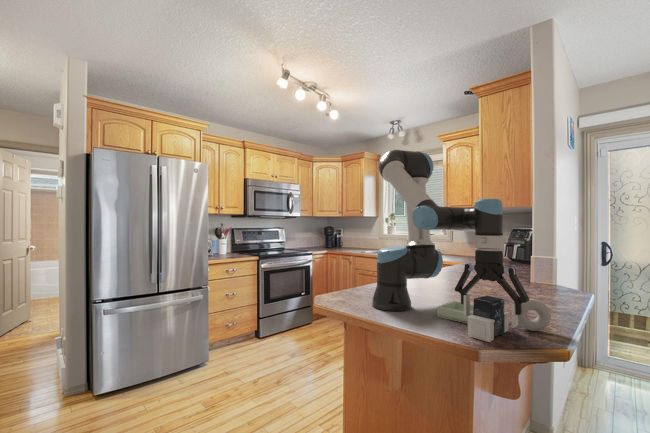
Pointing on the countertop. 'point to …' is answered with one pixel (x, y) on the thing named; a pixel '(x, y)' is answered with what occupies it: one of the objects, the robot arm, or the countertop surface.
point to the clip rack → (484, 327)
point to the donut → (540, 321)
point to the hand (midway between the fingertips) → (489, 320)
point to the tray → (453, 311)
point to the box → (491, 311)
